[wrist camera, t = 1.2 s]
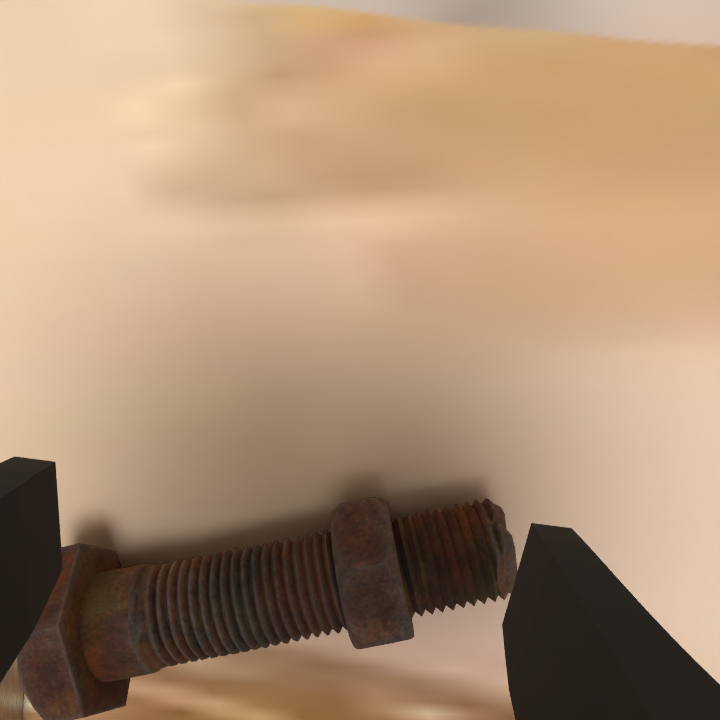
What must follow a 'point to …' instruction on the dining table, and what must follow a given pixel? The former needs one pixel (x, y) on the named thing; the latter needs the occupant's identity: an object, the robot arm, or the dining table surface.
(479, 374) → the dining table surface
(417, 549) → the bolt
